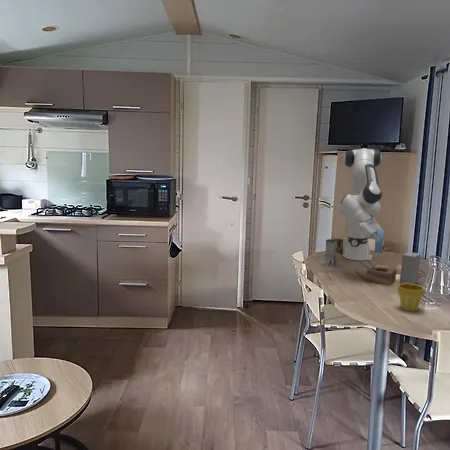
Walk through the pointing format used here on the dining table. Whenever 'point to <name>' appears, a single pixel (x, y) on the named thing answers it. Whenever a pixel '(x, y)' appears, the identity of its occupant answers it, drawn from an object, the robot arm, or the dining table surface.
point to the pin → (379, 244)
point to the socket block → (381, 275)
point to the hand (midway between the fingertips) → (380, 240)
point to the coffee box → (334, 252)
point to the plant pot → (410, 296)
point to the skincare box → (410, 268)
